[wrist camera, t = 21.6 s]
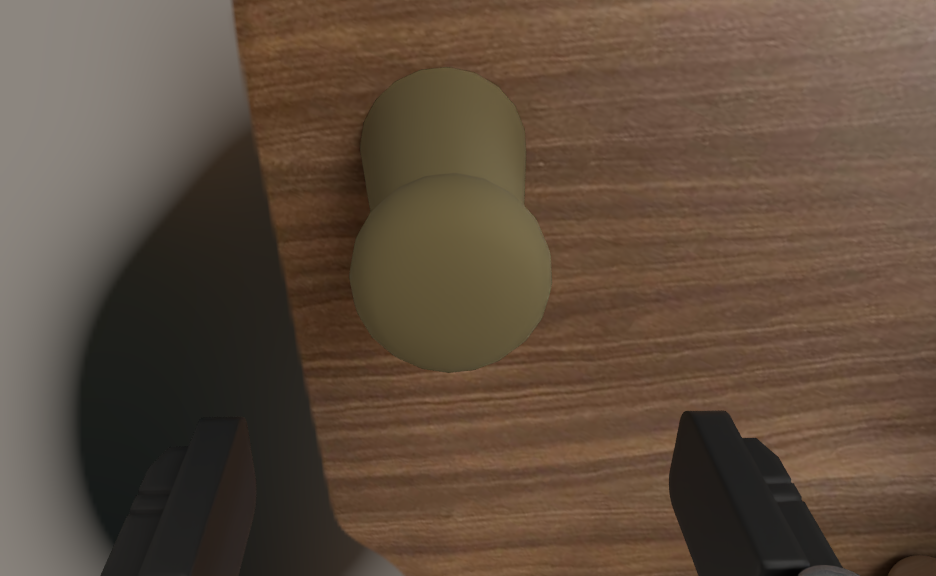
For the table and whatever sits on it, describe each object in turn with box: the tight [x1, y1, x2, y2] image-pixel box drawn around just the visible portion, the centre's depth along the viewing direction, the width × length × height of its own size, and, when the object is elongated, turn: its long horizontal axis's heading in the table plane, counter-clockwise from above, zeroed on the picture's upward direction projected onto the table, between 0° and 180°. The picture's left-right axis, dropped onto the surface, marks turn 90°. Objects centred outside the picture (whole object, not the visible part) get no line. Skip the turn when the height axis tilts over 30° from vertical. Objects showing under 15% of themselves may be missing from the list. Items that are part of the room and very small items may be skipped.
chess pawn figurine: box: [349, 67, 552, 373], centre depth 23 cm, size 6×6×11 cm
